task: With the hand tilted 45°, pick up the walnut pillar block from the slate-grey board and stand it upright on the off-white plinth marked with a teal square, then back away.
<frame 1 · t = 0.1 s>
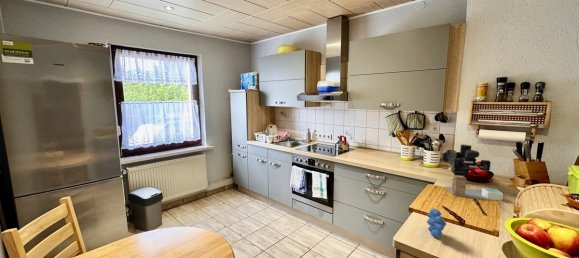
hand: (477, 168, 141), 17 cm above the countertop, tool horizontal, fingers open, 9 cm apart
grapes: (436, 237, 100), on the countertop
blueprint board: (471, 194, 145), on the countertop
walnut pillar: (458, 194, 142), point 1 cm above the countertop, touching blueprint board
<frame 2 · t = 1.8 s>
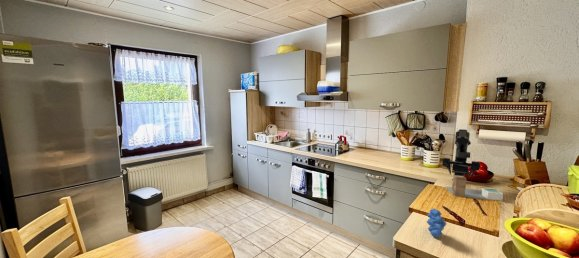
hand: (459, 175, 144), 11 cm above the countertop, tool tilted 45°, fingers open, 9 cm apart
nothing on the countertop moved.
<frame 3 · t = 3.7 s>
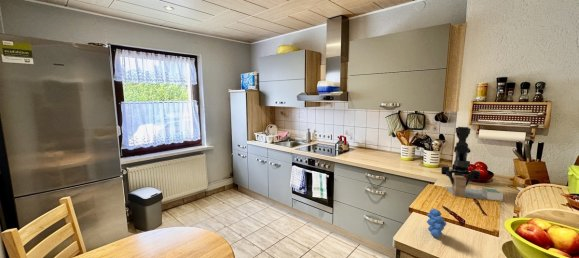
hand: (459, 185, 140), 7 cm above the countertop, tool tilted 45°, fingers closed on walnut pillar, 6 cm apart
walnut pillar: (458, 194, 142), point 1 cm above the countertop, touching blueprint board, gripper
everything else where it was.
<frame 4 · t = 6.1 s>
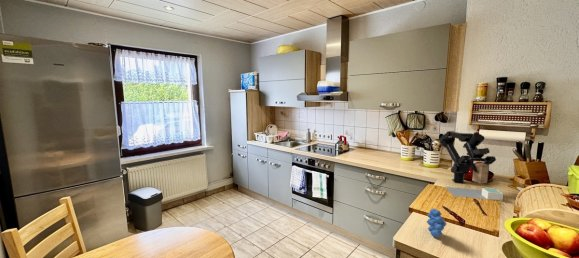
hand: (482, 172, 143), 13 cm above the countertop, tool tilted 45°, fingers closed on walnut pillar, 6 cm apart
walnut pillar: (479, 181, 146), point 7 cm above the countertop, touching gripper
everything else where it was.
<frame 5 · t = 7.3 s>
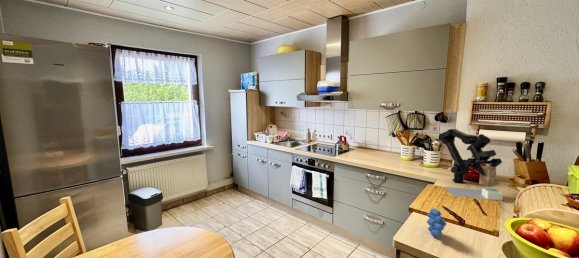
hand: (489, 175, 140), 13 cm above the countertop, tool tilted 45°, fingers closed on walnut pillar, 6 cm apart
walnut pillar: (486, 184, 142), point 6 cm above the countertop, touching gripper
everything else where it was.
when the fingers open (12 cm above the countertop, at t = 8.6 s): walnut pillar stays where it is, resting on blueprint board.
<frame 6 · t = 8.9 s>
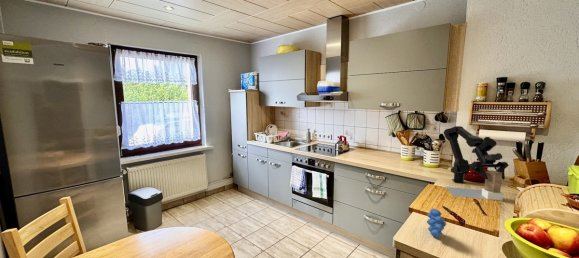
hand: (495, 179, 136), 12 cm above the countertop, tool tilted 45°, fingers open, 9 cm apart
walnut pillar: (492, 190, 138), point 5 cm above the countertop, touching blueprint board
everything else where it was.
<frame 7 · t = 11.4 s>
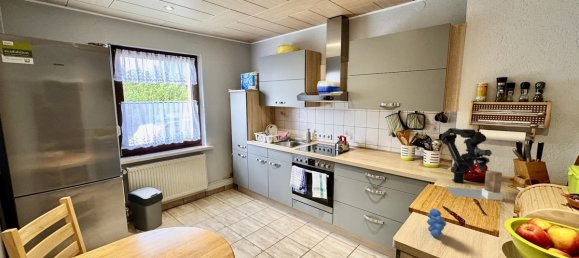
hand: (478, 171, 146), 13 cm above the countertop, tool tilted 30°, fingers open, 9 cm apart
nothing on the countertop moved.
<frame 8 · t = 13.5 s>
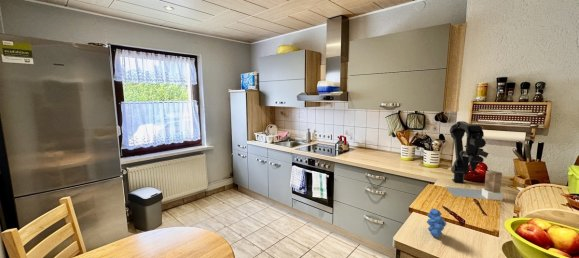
hand: (469, 169, 151), 13 cm above the countertop, tool pointing down, fingers open, 9 cm apart
nothing on the countertop moved.
at the end: walnut pillar 0.1 cm from the target spot, point 4.7 cm above the countertop; walnut pillar tilted 0°; the gripper is holding nothing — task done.
